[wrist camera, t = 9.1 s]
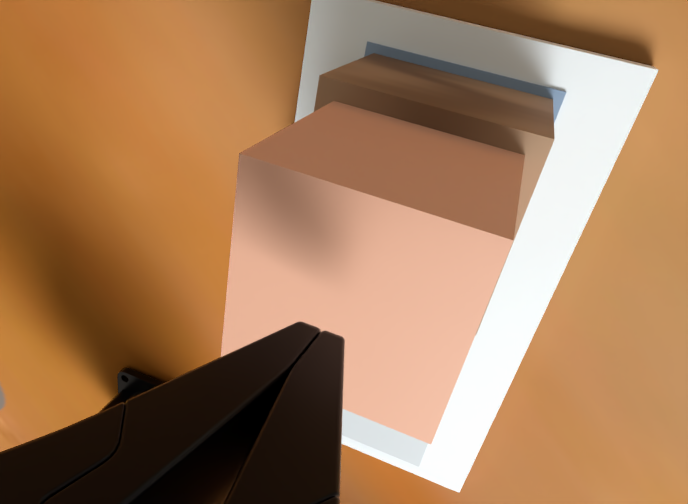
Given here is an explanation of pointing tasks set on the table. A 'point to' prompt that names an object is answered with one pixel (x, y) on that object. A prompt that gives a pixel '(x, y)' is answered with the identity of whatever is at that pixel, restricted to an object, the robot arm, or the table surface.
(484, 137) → the walnut block
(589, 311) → the table surface
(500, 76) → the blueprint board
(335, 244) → the terracotta block
